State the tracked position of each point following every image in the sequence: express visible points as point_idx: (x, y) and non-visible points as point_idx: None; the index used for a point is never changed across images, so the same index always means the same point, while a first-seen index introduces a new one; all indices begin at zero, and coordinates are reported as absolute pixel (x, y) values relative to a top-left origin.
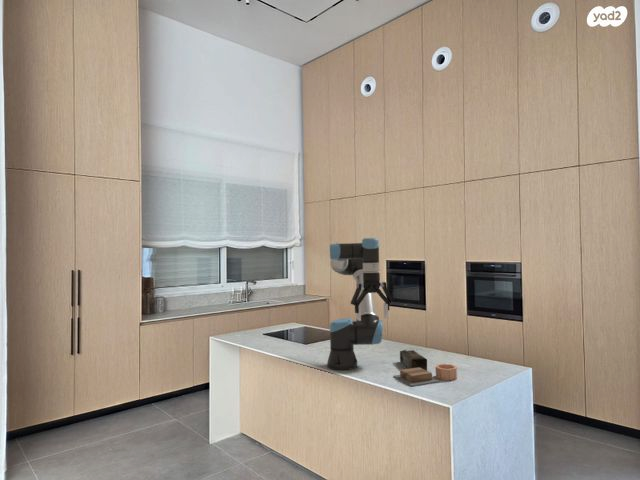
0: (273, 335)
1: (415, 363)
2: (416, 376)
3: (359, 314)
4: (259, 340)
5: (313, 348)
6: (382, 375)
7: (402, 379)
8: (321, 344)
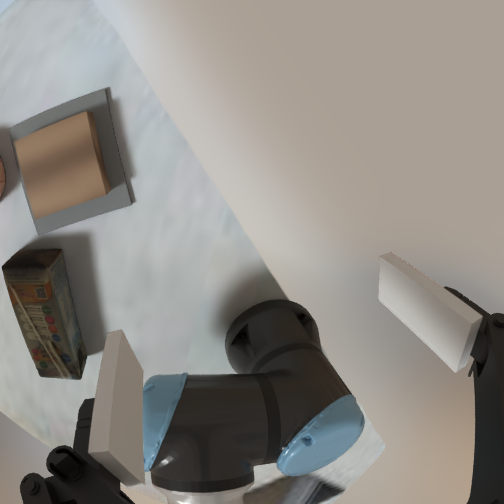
0: (332, 490)
1: (40, 258)
2: (70, 117)
3: (424, 276)
4: (364, 467)
5: None
6: (166, 228)
7: (112, 155)
8: (269, 472)
